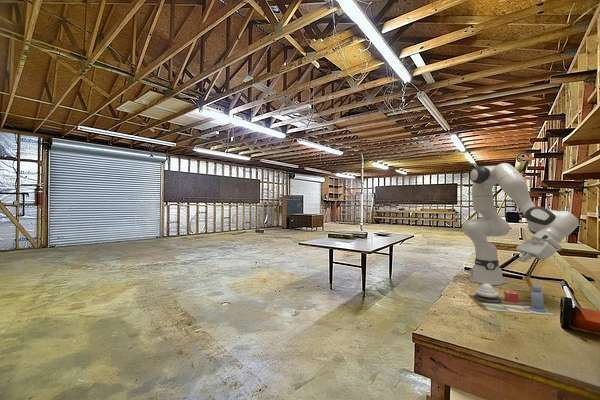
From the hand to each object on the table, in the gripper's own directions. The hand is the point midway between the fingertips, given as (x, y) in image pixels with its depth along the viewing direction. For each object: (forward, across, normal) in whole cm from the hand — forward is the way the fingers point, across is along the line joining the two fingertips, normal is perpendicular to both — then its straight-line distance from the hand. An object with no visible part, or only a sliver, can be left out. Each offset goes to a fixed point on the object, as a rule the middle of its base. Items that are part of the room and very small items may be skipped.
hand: (520, 260), depth 127 cm
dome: (+22, 0, +2) cm, 22 cm away
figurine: (+9, -8, +20) cm, 24 cm away
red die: (+17, 0, +10) cm, 20 cm away
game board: (+21, +5, +9) cm, 23 cm away
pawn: (+13, +11, +14) cm, 22 cm away
